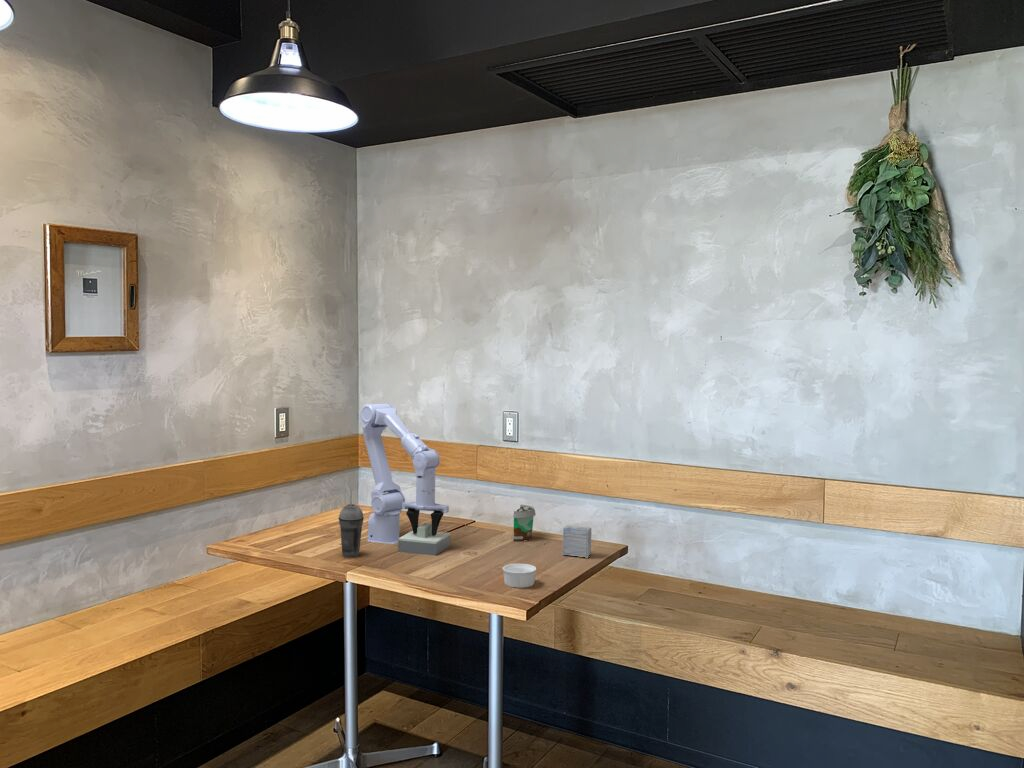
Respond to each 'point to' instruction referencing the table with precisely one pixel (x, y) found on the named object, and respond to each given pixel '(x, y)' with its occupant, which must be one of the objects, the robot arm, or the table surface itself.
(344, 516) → the beverage cup
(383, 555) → the table surface
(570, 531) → the medicine box
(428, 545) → the storage box
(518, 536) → the food container
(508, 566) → the ramekin
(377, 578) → the table surface
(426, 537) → the lid
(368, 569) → the table surface
